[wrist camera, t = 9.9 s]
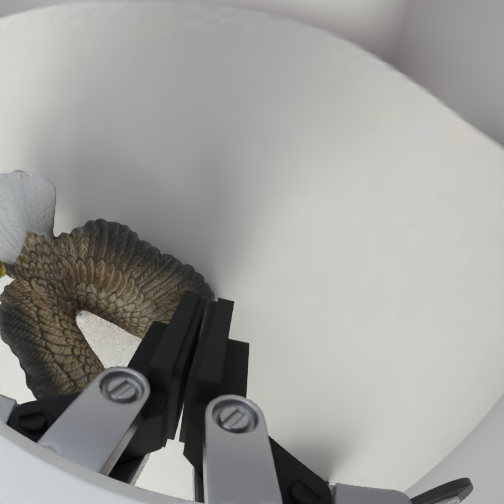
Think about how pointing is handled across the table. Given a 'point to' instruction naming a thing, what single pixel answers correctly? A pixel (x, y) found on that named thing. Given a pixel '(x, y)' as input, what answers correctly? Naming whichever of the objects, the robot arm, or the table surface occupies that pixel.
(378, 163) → the table surface
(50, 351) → the eagle figurine
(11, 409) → the robot arm
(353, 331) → the table surface
